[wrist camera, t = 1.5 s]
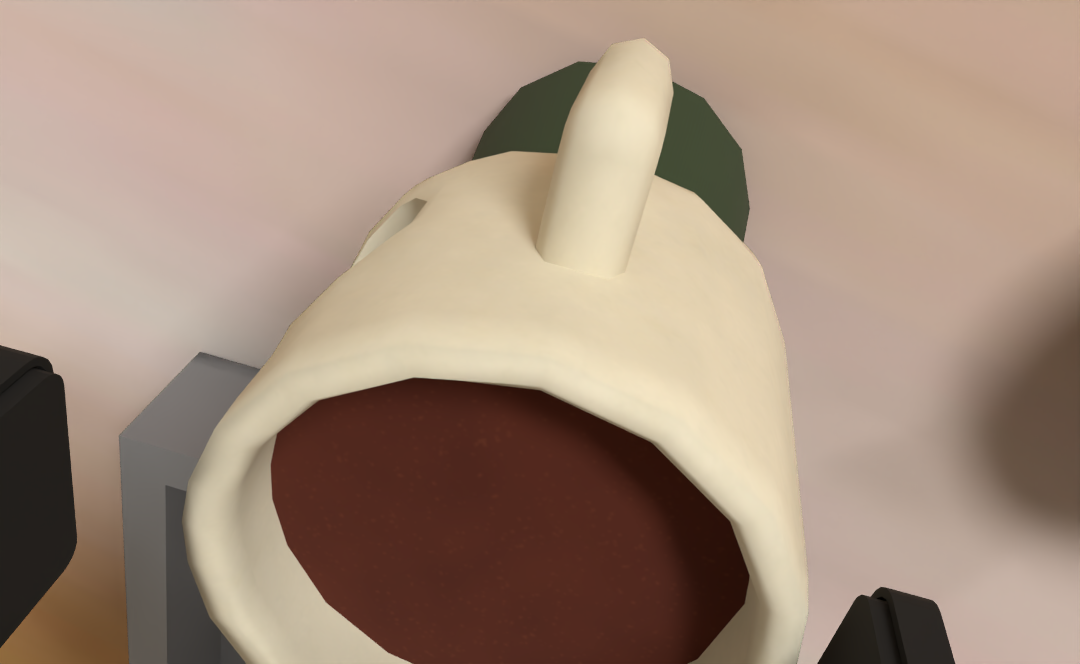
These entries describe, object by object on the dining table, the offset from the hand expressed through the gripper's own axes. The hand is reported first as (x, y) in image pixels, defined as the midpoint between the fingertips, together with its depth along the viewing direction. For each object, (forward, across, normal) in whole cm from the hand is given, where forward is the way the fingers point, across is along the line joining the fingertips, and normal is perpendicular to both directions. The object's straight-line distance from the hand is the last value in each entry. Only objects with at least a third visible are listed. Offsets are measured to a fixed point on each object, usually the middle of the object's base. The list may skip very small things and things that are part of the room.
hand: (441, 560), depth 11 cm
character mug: (+13, -1, 0) cm, 13 cm away
